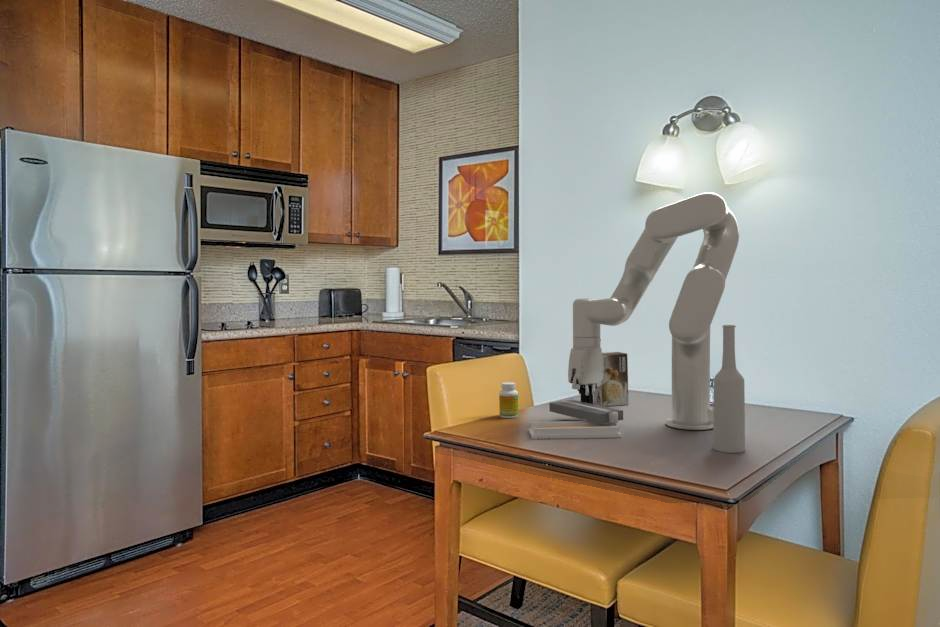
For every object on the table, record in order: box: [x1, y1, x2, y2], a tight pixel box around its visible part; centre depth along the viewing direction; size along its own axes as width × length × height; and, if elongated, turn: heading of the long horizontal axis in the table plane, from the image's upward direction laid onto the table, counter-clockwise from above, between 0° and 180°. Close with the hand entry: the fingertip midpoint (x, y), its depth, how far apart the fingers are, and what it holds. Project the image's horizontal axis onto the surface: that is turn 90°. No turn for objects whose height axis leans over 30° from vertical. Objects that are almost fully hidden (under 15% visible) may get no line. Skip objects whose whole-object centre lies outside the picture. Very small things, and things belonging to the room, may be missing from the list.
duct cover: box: [549, 399, 624, 424], centre depth 172 cm, size 22×8×3 cm, turn 32°
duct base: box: [527, 420, 623, 440], centre depth 164 cm, size 22×9×2 cm, turn 90°
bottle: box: [712, 324, 746, 454], centre depth 146 cm, size 7×7×28 cm
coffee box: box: [593, 351, 629, 407], centre depth 203 cm, size 9×6×16 cm
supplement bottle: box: [498, 381, 519, 419], centre depth 187 cm, size 5×5×10 cm
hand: (586, 408), depth 181 cm, fingers closed
